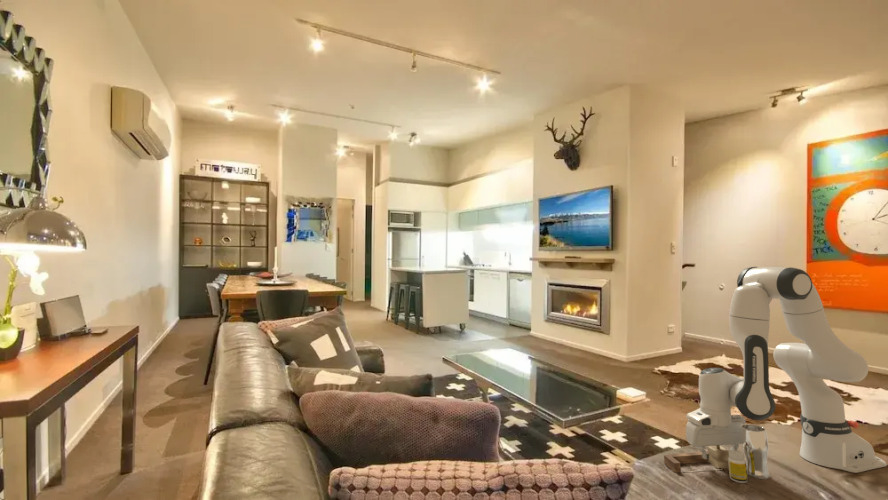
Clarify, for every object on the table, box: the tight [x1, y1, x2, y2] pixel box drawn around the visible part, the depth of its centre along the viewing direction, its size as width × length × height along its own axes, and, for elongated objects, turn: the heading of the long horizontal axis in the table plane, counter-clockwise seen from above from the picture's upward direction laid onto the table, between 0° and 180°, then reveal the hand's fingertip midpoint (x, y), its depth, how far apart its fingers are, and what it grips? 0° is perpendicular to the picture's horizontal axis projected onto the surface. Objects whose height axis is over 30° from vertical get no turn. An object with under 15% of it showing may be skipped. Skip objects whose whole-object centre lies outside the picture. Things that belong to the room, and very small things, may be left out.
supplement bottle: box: [728, 449, 748, 484], centre depth 129 cm, size 5×5×8 cm
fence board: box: [663, 451, 724, 473], centre depth 139 cm, size 20×8×3 cm, turn 92°
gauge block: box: [707, 445, 729, 469], centre depth 138 cm, size 4×4×7 cm
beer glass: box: [741, 423, 770, 480], centre depth 131 cm, size 7×7×15 cm
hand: (718, 457), depth 138 cm, fingers open, 8 cm apart
